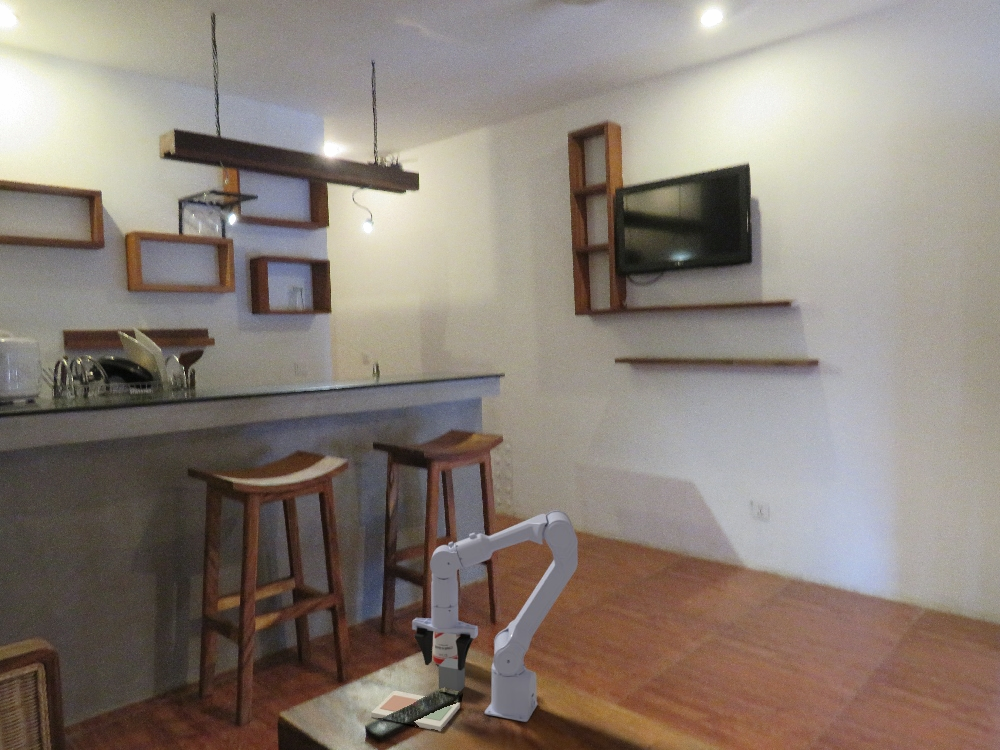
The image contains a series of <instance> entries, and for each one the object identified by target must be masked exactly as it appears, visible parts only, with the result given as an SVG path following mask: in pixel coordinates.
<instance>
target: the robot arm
mask: <svg viewBox="0 0 1000 750" xmlns="http://www.w3.org/2000/svg"><path fill="white" fill-rule="evenodd" d="M526 541H530V542H533V543H535V544H539V545H544V543H543V541H545V542H546V544H547V546H548V547H549V549H550V550H551V553H552V557H553V560H552V561H551V563H550V565H549V566H548V568H547V569H546V571H545V572H544V574H543V576H542V578H541V579H540V580H539V582H538V583H537V584H536V587H535V588H534V590H533V591H532V592H531V594H530V596H529V597H528V598H527V600H526V601H525V603H524V605H523V606H522V607H521V609H520V611H519V613H518V614H517V615H516V617H515V618H514V619H513V620H512V621H510V622H509V624H508V625H507V626H506V628H504V629H502V630H501V631H499V632H498V633H497V634H496V635H495V637H494V641H493V647H494V649H493V650H494V651H493V652H494V653H493V654H494V655H493V658H492V659H493V660H492V664H491V683H490V684H491V687H490V688H491V690H490V691H491V697H490V699H491V702H490V703H489V705H488V707H487V708H486V709H485V710H484V714H485V715H487V716H494V717H499V718H503V719H509V720H514V721H519V722H523V723H527V722H528V721H529V720H530V718H531V716H532V714H533V712H534V711H535V709H536V708H537V706H538V702H537V700H538V698H537V696H538V695H537V693H538V692H537V689H538V688H537V687H538V685H537V684H538V683H537V681H538V680H537V679H538V678H537V674H536V672H535V671H532V670H530V669H528V668H526V663H525V662H524V658H525V655H526V653H527V652H528V650H529V648H530V645H531V642H532V640H533V639H532V638H533V636H534V634H535V633H536V632H537V630H538V628H539V627H540V626H541V624H542V622H543V621H544V620H545V618H546V617H547V615H548V614H549V611H550V610H551V609H552V607H553V606H554V604H555V602H556V601H557V599H558V598H559V597H560V595H561V594H562V592H563V590H564V589H565V588H566V586H567V584H568V582H569V581H570V580H571V578H572V576H573V575H574V573H575V572H576V570H577V568H578V565H579V561H578V556H579V555H578V544H579V543H578V542H579V541H578V537H577V534H576V531H575V529H574V526H573V524H572V521H571V519H570V517H569V515H568V514H567V513H566V512H564V511H562V510H558V509H557V510H550V511H548V513H539V514H538V515H536V516H533V517H531V518H529V519H528V518H527V520H524V521H521V522H519V523H517V524H515V525H512V526H510V527H508V528H505V529H503V530H500V531H498V532H495V533H493V534H491V535H487V534H485V533H481V532H480V533H477V534H476V531H475V532H472V533H471V532H470V533H469V535H468V537H466V538H464V539H460V540H459V541H456V542H454V541H449V542H448V544H442V545H440V546H438V547H436V549H434V551H433V553H432V556H431V558H430V561H429V568H430V572H431V583H430V586H431V587H430V590H431V591H430V593H431V595H430V599H431V601H430V604H431V605H430V607H431V609H430V610H431V611H430V612H431V618H429V617H428V618H427V617H425V618H424V617H415V618H414V619H413V620H411V626H412V627H411V629H412V630H413V631H416V632H415V633H414V639H415V641H416V642H417V644H418V646H419V648H420V650H421V652H422V653H421V654H422V656H423V660H424V665H425V666H429V665H430V664H431V663H432V662H433V633H434V631H435V632H439V633H449V634H456V635H458V639H457V640H456V645H457V652H458V670H460V671H461V670H462V669H463V668H464V667H465V668H466V661H467V656H468V654H469V650H470V647H471V645H472V642H473V641H474V639H476V638H477V636H479V625H473V624H470V623H467V622H464V621H461V620H459V582H458V573H457V572H458V570H465V569H466V568H469V567H472V566H474V565H478V564H480V563H482V562H485V561H488V560H490V559H491V558H492V555H493V553H494V552H496V551H498V550H501V549H505V548H508V547H511V546H514V545H517V544H520V543H524V542H526Z"/></svg>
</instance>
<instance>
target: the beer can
mask: <svg viewBox="0 0 1000 750" xmlns="http://www.w3.org/2000/svg"><path fill="white" fill-rule="evenodd" d="M458 638H459V635H456V634H449V633H439V632H435V631H434V633H433V641H432V661H433V662H434V663H435V664H436V666H439V665H440V664H441V663H442V662H443V661H444V660H445V659H446V658H452V659H458V652H457V645H456V640H457V639H458Z"/></svg>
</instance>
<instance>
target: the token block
mask: <svg viewBox="0 0 1000 750" xmlns="http://www.w3.org/2000/svg"><path fill="white" fill-rule="evenodd" d="M465 673H466V666H465V667H464V668H463V669H462V670H461V671H460V670H458V659H452V658H446V659H445V660H444V661H443V662H442V663H441V664H440V665H438V690H439V689H441V688H444V687H447V688H450V689H452V690H455V691H460V692H461V691H462V690H463V689H464V688H465V686H466V674H465Z"/></svg>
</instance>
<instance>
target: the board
mask: <svg viewBox="0 0 1000 750" xmlns="http://www.w3.org/2000/svg"><path fill="white" fill-rule="evenodd" d="M423 697H425V695H421V694H420V695H419V694H415V693H408V692H405V691H400V690H393V691H392V692H391V693H390V694H389V695H388V696H386V698H385V699H383V700H382V701H381V702H380V703H379V704H378V705H377V706H376V707H375V708H374V709H373V710H372V711H371V712H370V718H375V719H378V718H381V717H384V716H387V715H389V714H391V713H393V712H396V711H398V710H400V709H402V708H404V707H407V706H409V705H411V704H413V703H414V702H416V701H417V700H419V699H421V698H423ZM460 705H461V702H457V703H456V704H453V705H450V706H447V707H444V708H442V709H440V710H437V711H435V712H434V713H430V714H429V715H427V716H424V717H423V718H421V719H418V720H416V721H414V722H415V723H416V724H417V725H418V726H419V727H418V728H422V729H426V730H427V729H428V730H431V729H435V730H438V731H437V732H441V731H442V730H443V729H444V728H445V726H446V725H448V722H450V720H451V719H452V718H453V717H454V716H455V714H456V713H457V712H458V710H460V707H461V706H460ZM443 727H444V728H443ZM442 728H443V729H442ZM441 729H442V730H441ZM435 730H434V731H435Z"/></svg>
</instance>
